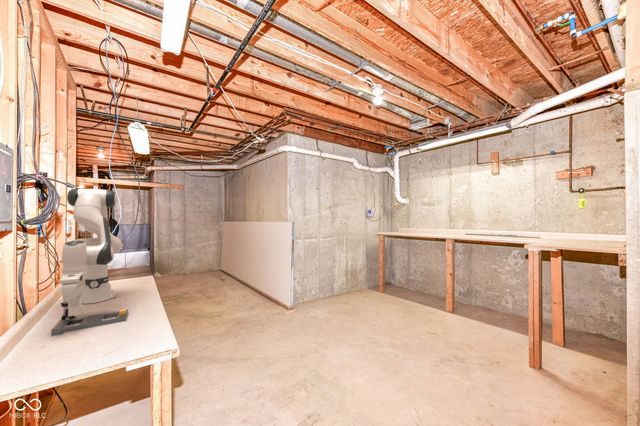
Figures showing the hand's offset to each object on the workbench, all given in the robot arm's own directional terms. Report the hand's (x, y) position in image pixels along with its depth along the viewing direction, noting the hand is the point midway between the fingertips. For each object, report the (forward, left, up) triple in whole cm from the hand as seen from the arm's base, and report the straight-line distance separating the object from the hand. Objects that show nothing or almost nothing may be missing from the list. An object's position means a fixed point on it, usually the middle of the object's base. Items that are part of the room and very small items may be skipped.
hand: (75, 305), depth 121 cm
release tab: (0, +18, -10) cm, 20 cm away
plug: (0, 0, -4) cm, 4 cm away
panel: (0, +6, -11) cm, 13 cm away
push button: (-15, -7, -11) cm, 20 cm away
